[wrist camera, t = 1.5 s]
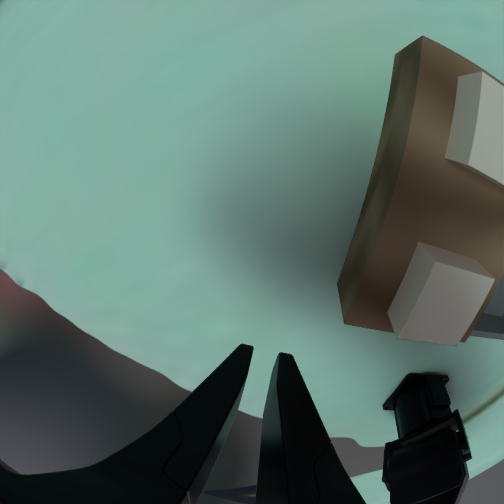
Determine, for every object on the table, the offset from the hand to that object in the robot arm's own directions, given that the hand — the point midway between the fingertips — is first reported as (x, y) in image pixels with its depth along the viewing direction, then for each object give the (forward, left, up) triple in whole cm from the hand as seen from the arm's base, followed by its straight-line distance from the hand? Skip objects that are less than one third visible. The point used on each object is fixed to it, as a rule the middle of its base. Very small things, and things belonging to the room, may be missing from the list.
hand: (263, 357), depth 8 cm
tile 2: (+10, -10, -8) cm, 16 cm away
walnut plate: (+5, -11, -13) cm, 17 cm away
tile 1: (0, -10, -8) cm, 13 cm away
